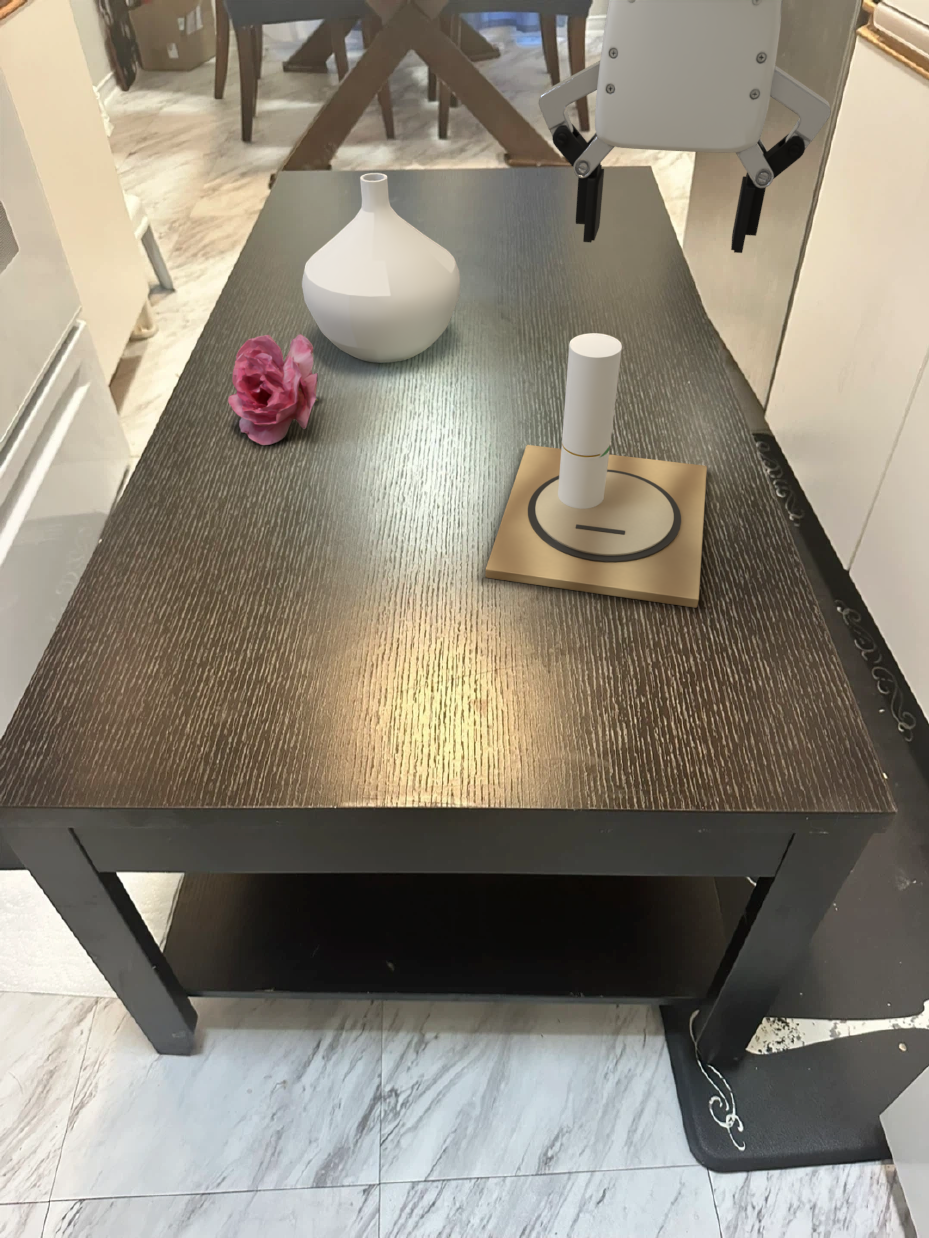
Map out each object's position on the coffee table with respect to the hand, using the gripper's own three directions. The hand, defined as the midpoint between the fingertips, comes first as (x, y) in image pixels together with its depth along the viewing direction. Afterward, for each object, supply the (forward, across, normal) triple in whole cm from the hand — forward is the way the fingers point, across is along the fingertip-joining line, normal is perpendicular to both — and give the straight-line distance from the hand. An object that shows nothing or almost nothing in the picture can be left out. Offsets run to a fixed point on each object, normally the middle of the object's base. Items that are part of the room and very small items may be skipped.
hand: (663, 240), depth 59 cm
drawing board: (+28, +2, -5) cm, 28 cm away
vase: (+27, +32, -35) cm, 55 cm away
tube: (+26, +5, -7) cm, 28 cm away
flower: (+27, +38, -15) cm, 49 cm away
